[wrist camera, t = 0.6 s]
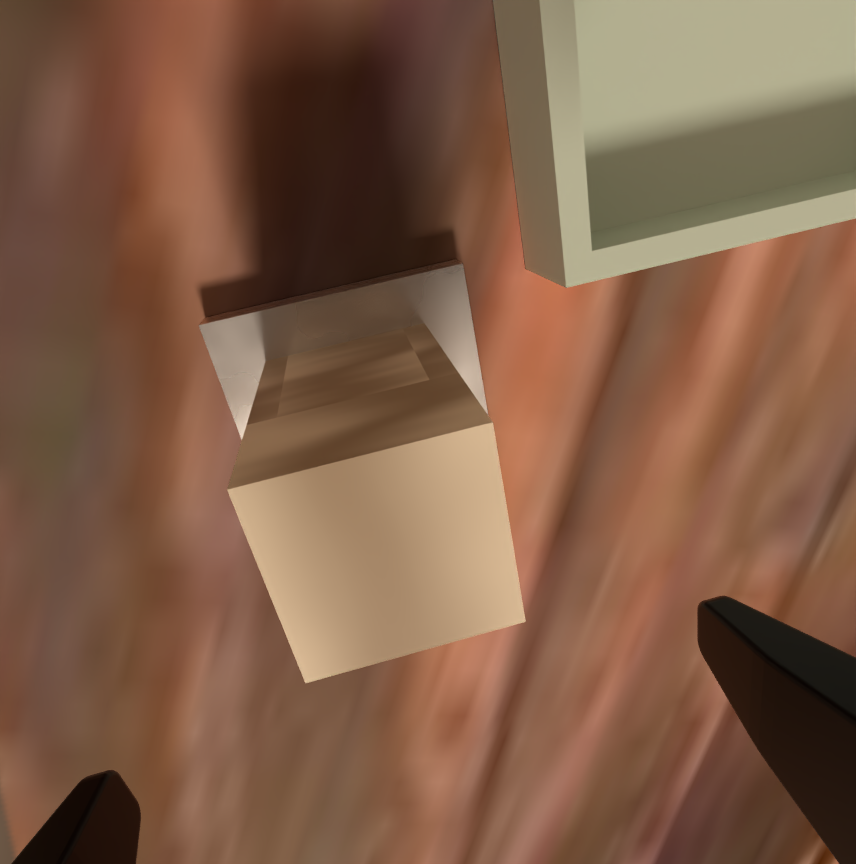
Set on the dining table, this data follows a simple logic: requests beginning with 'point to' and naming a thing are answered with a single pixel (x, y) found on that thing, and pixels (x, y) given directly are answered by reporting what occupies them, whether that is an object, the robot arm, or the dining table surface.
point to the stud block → (343, 327)
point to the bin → (674, 126)
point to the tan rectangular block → (375, 503)
